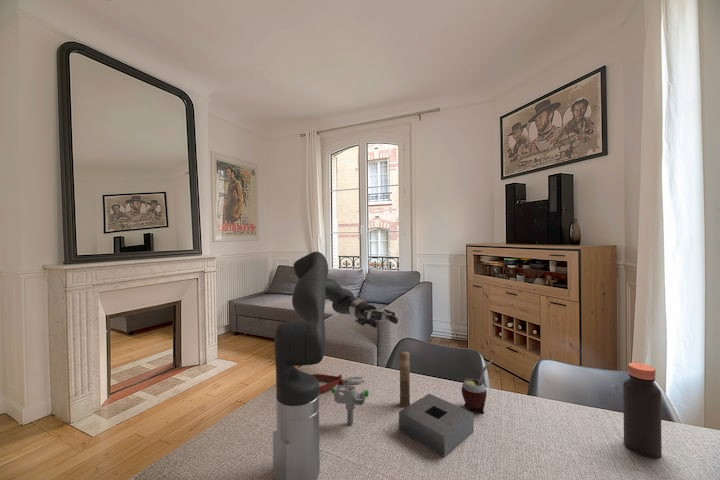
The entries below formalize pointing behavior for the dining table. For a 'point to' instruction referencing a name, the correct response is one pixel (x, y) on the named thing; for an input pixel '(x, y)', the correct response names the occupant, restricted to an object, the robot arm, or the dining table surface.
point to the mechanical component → (349, 399)
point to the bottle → (642, 411)
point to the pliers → (335, 381)
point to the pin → (404, 379)
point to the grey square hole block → (436, 423)
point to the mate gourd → (475, 393)
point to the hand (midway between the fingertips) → (386, 322)
